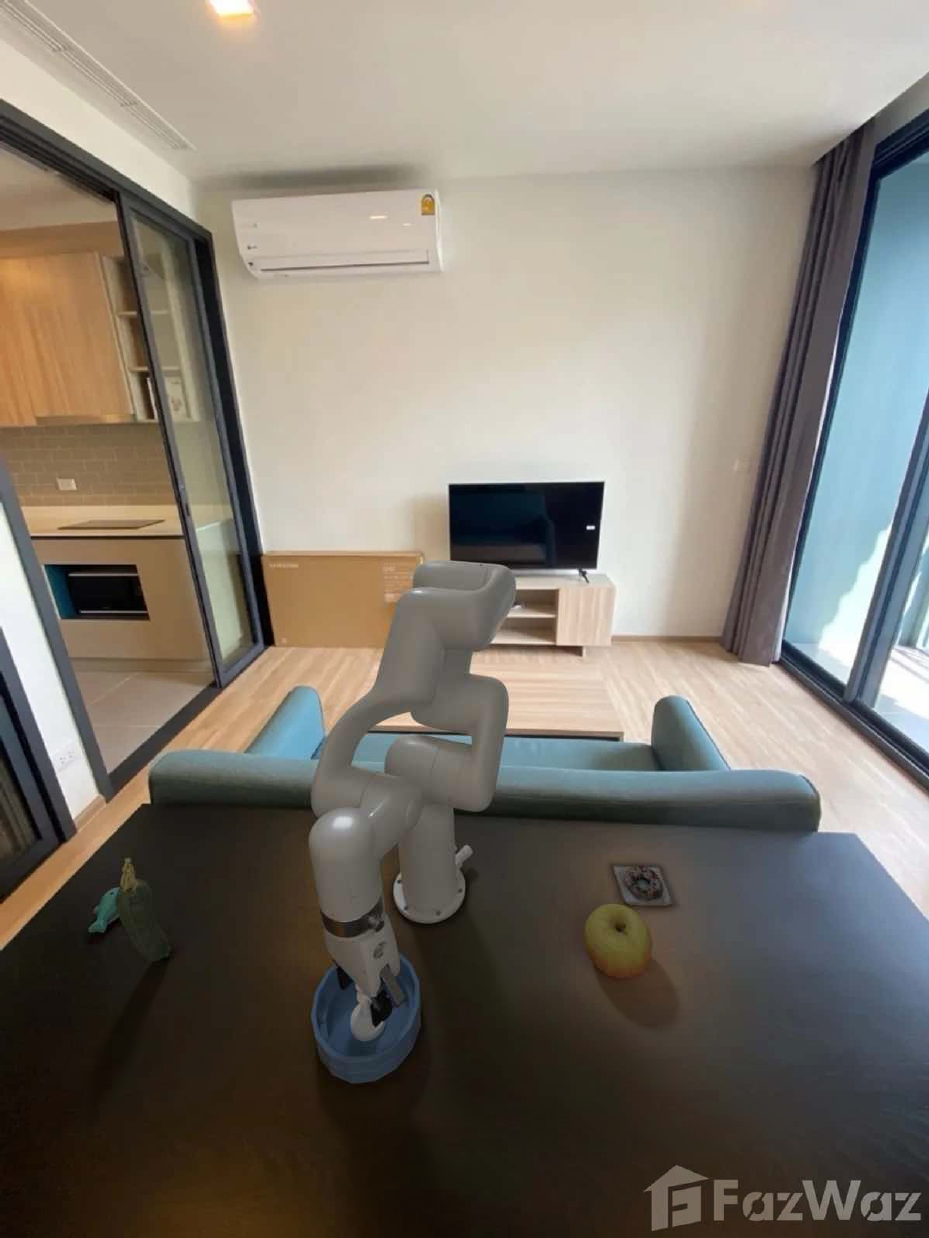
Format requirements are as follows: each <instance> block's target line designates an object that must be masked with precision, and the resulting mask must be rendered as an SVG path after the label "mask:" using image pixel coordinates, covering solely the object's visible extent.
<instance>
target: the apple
mask: <svg viewBox="0 0 929 1238" xmlns="http://www.w3.org/2000/svg"><path fill="white" fill-rule="evenodd" d="M583 933H584V934H583V943H584V947H585V950H586V953H587V954H586V955H588V957H589V958H590V960H591V961H592V963H593V964H594V965H595V967H596V968H597V969H599V970H600V971H601V972H602V973H603V974H605V975H606V976H608V977H612V978H614V979H617V980H619V979H620V980H623V979H624V980H625V979H626V980H630V979H631V978H634V977H637V976H638V975H640V974H642V973H643V972H644V971H645V970H646V968H647V967H648V965H649V964H650V962H651V957H652V952H653V939H652V934H651V931H650V929H649V927H648V926H647V924H646V922H645V920H644V919H643V917H642V916H641V915H639V914H638V913H637V912H636V911H635V910H633V909H631V908H629V907H627V906H626V905H624V904H618V903H614V902H613V903H606V904H602V905H600V906H599V907H597V908H596V909H595V910H593V911H592V912H591V913H590V914H589V916H588V918H587V920H585V925H584V932H583Z"/></svg>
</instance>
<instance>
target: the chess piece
mask: <svg viewBox="0 0 929 1238" xmlns="http://www.w3.org/2000/svg"><path fill="white" fill-rule="evenodd" d="M355 987H356V989H357V991H358V992H357V1001H358V1002H359V1004H358V1005H357V1006H356V1007H355V1009H354V1011H353V1013H352V1015H351V1020H350V1028H351V1032H352V1034H353V1036H354V1037H355V1038H356V1039H358V1040H360V1041H370V1040H373V1039H374V1038H376V1037H377V1036H378V1035H379V1034H380V1033H381V1032H382V1031H383V1029H384V1027H385V1024H386V1021H384V1022H383V1021H382V1022H381V1023H380V1024H379V1025H378V1026H377V1027H376V1028H375V1027H374V1026H373V1024H372V1018H371V1011H370V1004H371V1003H372V1001H371V999H370V996H368V995H367V994H366V993H365V992H364V991H363V990H362V989H361V988H360V987H359V986H358V985H357V984H356V983H355Z"/></svg>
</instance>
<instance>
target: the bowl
mask: <svg viewBox="0 0 929 1238" xmlns="http://www.w3.org/2000/svg"><path fill="white" fill-rule="evenodd" d="M398 954H399V961H400V972H399V973H398V974H397V976H396V977H395V976H394V975H393V974H392V975H393V976H394V978H395V980H396V982H397V984H398V985H399V987H400V989H401V991H402V992H403V994H404V996H405V1000H404V1002H403V1003H402V1004H401V1005H400V1006H399V1007H398V1008H394V1007H393V1009H392V1013H391V1015H390V1016H389V1017H388V1019H387V1020H386V1024H385V1027H384V1029H383V1031H382V1032H381V1033H380V1034H379V1035H378V1036H377V1037H376V1038H374V1039H373V1040H370V1041H360V1040H358V1039H356V1038H355V1037H354V1036H353V1034H352V1032H351V1028H350V1020H351V1015H352V1013H353V1011H354V1009H355V1007H356V1006H357V1005H358V1004H359V1002H358V1001H357V992H358V991H357V989H356V987H355V982H354V981H353V982H352V983H351V984H350V985H349V986H348V987H347V988H346V989H345V990H342V989H341V988H340V987H339V982H338V976H337V970H336V969H337V968H338V967H337V966H336V965H335V964H333V965H332V966H331V967H330V968H329V969H328V970H327V971H326V972H325V974H324V976H323V978H322V980H321V981H320V983H319V985H318V986H317V987H316V988H317V989H316V990H315V993H314V996H313V1001H312V1006H311V1007H312V1008H311V1013H310V1019H311V1025H312V1028H313V1034H314V1039H315V1043H316V1047H317V1053H318V1057H319V1060H320V1061H321V1062H322V1064H323V1065H324V1066H325V1067H326V1069H327V1070H328V1071H329V1073H330V1074H331V1076H333V1077H336V1078H338V1079H340V1080H343V1081H346V1082H348V1083H350V1084H363V1083H373V1082H377V1081H379V1080H380V1079H381V1078H384V1077H385V1076H387V1075H389V1074H390V1073H392V1072H393V1071H395V1070H396V1069H398V1068H399V1066H400V1065H401V1064H402V1063H403V1062H404V1060H405V1059H406V1058H407V1056H408V1055H409V1054H410V1053H411V1051H412V1050H413V1049H414V1047H415V1043H416V1040H417V1038H418V1035H419V1032H420V1029H421V1026H422V999H421V987H420V981H419V978H418V976H417V973H416V971H415V969H414V966H413V964H412V963H411V962H410V961H409V960H408V959H407V958H406V957H405V956H404V955H403V954H402V953H401V952H400V951H398ZM383 989H384V987H383V985H381V986H380V987H379V990H378V991H377V995H378V994H379V993H380V992H381V991H382V990H383Z"/></svg>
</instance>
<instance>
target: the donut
mask: <svg viewBox="0 0 929 1238" xmlns="http://www.w3.org/2000/svg"><path fill="white" fill-rule="evenodd" d="M612 869H613V872H614V875H615V878H616V881H617V885H618V888H619V891H620V894H621V898H622V900H623V902H625V903H626V904H627V905H628V906H641V907H643V906H647V907H649V906H652V907H660V906H661V907H666V906H669V905H673V901H672V899H671V898H672V897H671V896H670V893H669V891H668V888H667V886H666V883H665V880H664V878H663V875H662V872H661V870H660V868H659V867H656V866H655V867H652V866H645V865H644V864H642V863H641V864H639V865H636V866H623V865H622V866H620V865H619V866H617V865H616V866H615V865H612Z"/></svg>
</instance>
